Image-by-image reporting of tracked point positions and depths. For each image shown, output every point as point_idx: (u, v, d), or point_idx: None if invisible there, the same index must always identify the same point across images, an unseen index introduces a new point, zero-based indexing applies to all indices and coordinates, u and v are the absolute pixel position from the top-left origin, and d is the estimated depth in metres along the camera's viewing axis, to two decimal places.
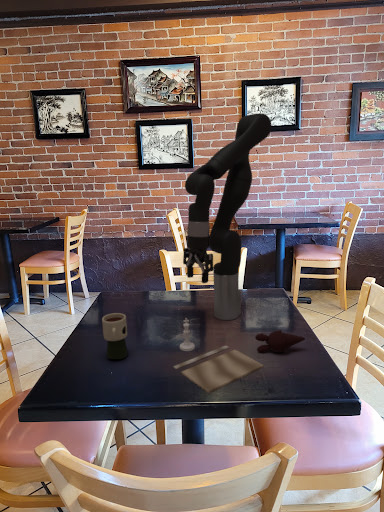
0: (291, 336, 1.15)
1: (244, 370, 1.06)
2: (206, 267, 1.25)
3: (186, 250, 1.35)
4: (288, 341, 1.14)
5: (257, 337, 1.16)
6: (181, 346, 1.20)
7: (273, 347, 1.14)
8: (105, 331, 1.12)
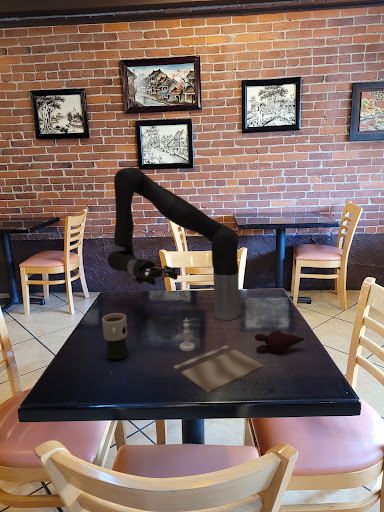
0: (290, 336, 1.15)
1: (244, 370, 1.06)
2: None
3: None
4: (287, 341, 1.14)
5: (256, 337, 1.16)
6: (181, 346, 1.20)
7: (272, 347, 1.14)
8: (105, 331, 1.12)
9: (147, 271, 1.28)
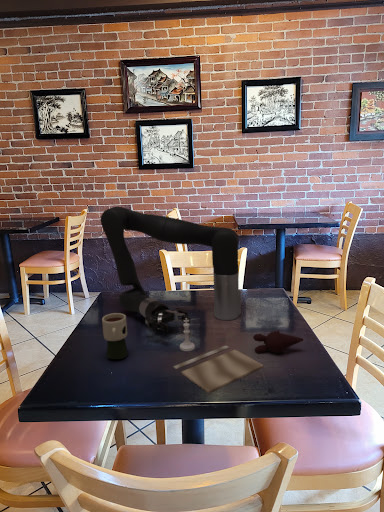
0: (289, 337, 1.15)
1: (244, 370, 1.06)
2: None
3: None
4: (285, 341, 1.14)
5: (255, 337, 1.16)
6: (181, 346, 1.20)
7: (271, 347, 1.14)
8: (105, 331, 1.12)
9: (160, 316, 1.26)
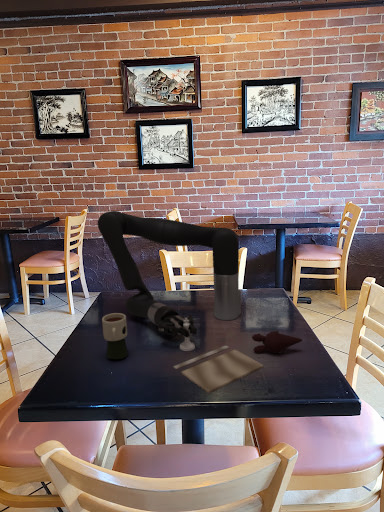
0: (288, 337, 1.15)
1: (244, 370, 1.06)
2: None
3: None
4: (284, 342, 1.14)
5: (253, 337, 1.16)
6: (181, 346, 1.20)
7: (269, 348, 1.14)
8: (105, 331, 1.12)
9: (174, 321, 1.22)
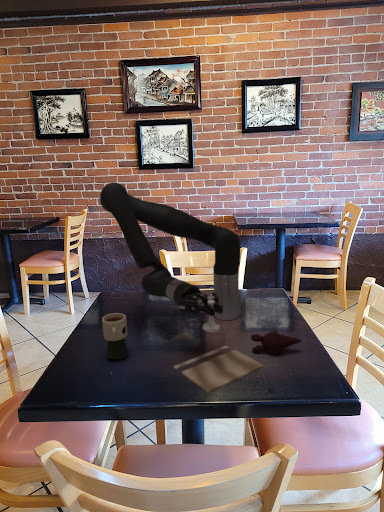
0: (287, 337, 1.14)
1: (244, 370, 1.06)
2: None
3: None
4: (283, 342, 1.13)
5: (252, 337, 1.16)
6: (204, 326, 1.06)
7: (268, 348, 1.14)
8: (105, 331, 1.12)
9: (197, 299, 1.08)
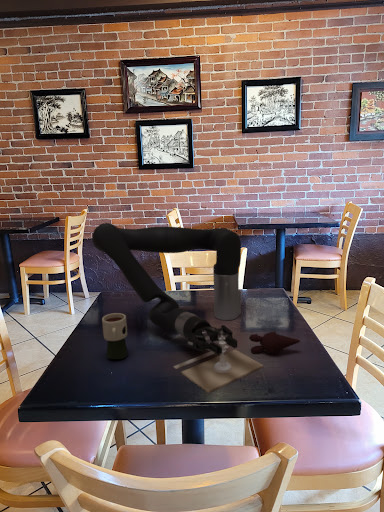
0: (285, 338, 1.14)
1: (244, 370, 1.06)
2: None
3: None
4: (281, 342, 1.13)
5: (251, 338, 1.16)
6: (216, 367, 1.06)
7: (266, 348, 1.14)
8: (105, 331, 1.12)
9: (206, 335, 1.07)
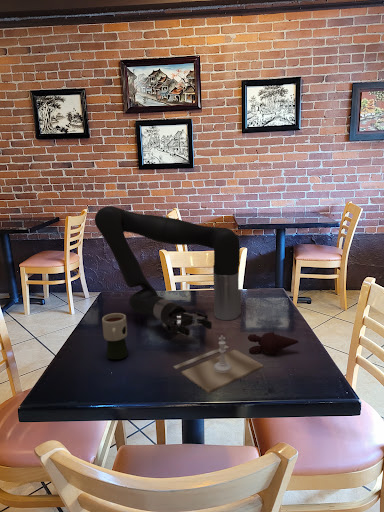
0: (283, 338, 1.14)
1: (244, 370, 1.06)
2: None
3: (194, 317, 1.25)
4: (280, 343, 1.13)
5: (249, 338, 1.16)
6: (216, 367, 1.06)
7: (264, 348, 1.13)
8: (105, 331, 1.12)
9: (179, 319, 1.17)
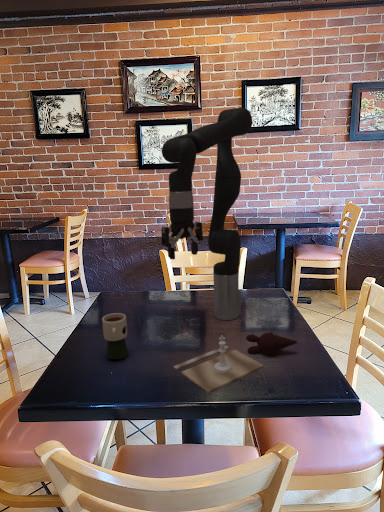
0: (282, 339, 1.14)
1: (244, 370, 1.06)
2: (201, 235, 1.22)
3: None
4: (278, 343, 1.13)
5: (248, 338, 1.16)
6: (216, 367, 1.06)
7: (263, 349, 1.13)
8: (105, 331, 1.12)
9: None
